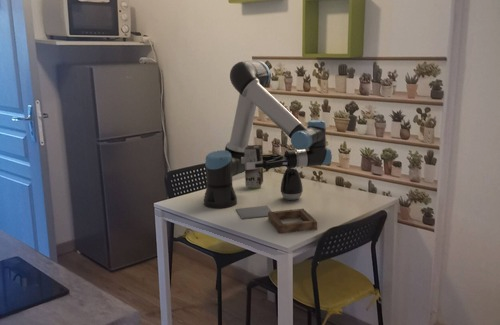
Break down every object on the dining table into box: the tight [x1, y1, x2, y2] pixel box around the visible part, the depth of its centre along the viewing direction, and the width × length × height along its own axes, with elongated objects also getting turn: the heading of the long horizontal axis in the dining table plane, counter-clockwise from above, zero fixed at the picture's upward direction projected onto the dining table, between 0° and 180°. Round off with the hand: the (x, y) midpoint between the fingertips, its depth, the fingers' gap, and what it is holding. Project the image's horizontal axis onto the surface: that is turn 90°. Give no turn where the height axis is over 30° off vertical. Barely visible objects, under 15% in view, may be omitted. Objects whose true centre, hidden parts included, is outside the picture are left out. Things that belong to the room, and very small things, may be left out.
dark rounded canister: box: [280, 167, 304, 201], centre depth 228 cm, size 10×10×15 cm
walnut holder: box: [267, 208, 318, 234], centre depth 196 cm, size 15×17×3 cm
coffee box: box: [244, 144, 264, 188], centre depth 207 cm, size 9×6×16 cm
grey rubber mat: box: [235, 205, 273, 220], centre depth 211 cm, size 14×13×1 cm
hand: (243, 163), depth 206 cm, fingers closed on coffee box, 10 cm apart
